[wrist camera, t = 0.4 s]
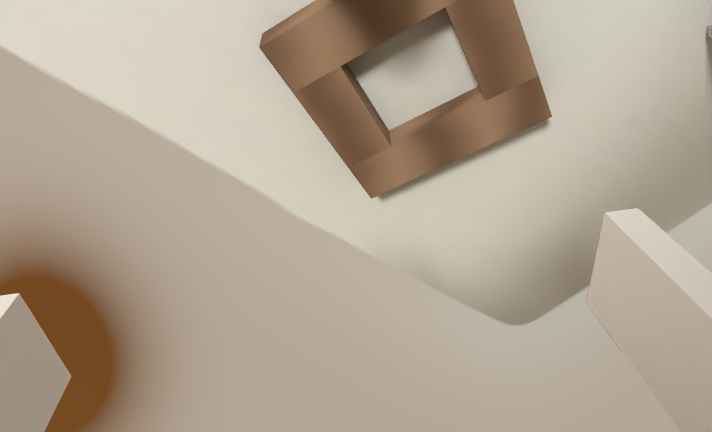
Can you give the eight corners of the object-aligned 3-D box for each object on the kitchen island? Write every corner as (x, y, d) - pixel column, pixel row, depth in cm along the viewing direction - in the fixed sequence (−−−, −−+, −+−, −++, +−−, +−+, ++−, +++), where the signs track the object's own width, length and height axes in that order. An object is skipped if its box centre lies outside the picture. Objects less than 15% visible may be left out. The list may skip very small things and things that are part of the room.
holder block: (473, -99, 26) (482, -90, 25) (542, 101, 35) (552, 116, 33) (262, 33, 30) (259, 47, 29) (369, 182, 39) (371, 198, 37)
